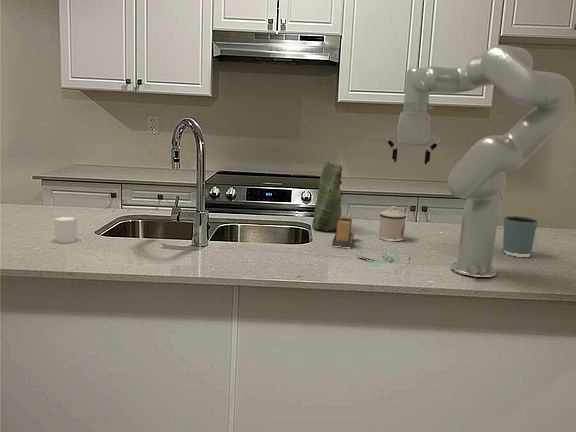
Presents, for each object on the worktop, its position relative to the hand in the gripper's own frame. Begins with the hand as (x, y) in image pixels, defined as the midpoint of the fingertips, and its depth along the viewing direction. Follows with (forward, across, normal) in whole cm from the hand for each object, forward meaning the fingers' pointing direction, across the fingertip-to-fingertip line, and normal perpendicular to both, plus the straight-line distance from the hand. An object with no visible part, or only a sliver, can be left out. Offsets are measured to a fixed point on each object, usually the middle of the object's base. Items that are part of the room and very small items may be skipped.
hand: (410, 162), depth 180 cm
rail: (+28, +20, 0) cm, 34 cm away
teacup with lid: (+28, +4, -13) cm, 32 cm away
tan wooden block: (+27, +20, +4) cm, 34 cm away
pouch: (+28, +27, -17) cm, 43 cm away
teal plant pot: (+28, -37, -6) cm, 47 cm away
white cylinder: (+28, +103, +30) cm, 111 cm away
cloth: (+29, +6, +17) cm, 34 cm away
